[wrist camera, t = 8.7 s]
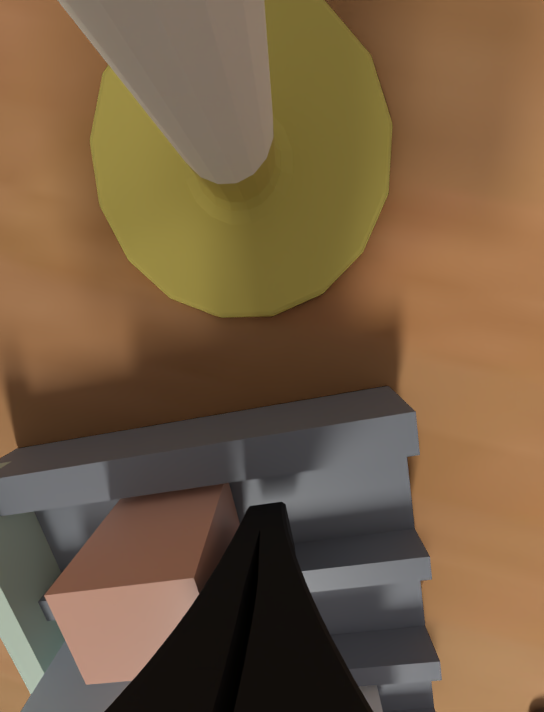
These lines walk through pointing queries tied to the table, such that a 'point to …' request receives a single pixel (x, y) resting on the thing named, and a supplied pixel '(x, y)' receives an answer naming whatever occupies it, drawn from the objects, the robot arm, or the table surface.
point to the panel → (249, 487)
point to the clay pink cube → (140, 577)
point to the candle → (236, 146)
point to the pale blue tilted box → (70, 689)
